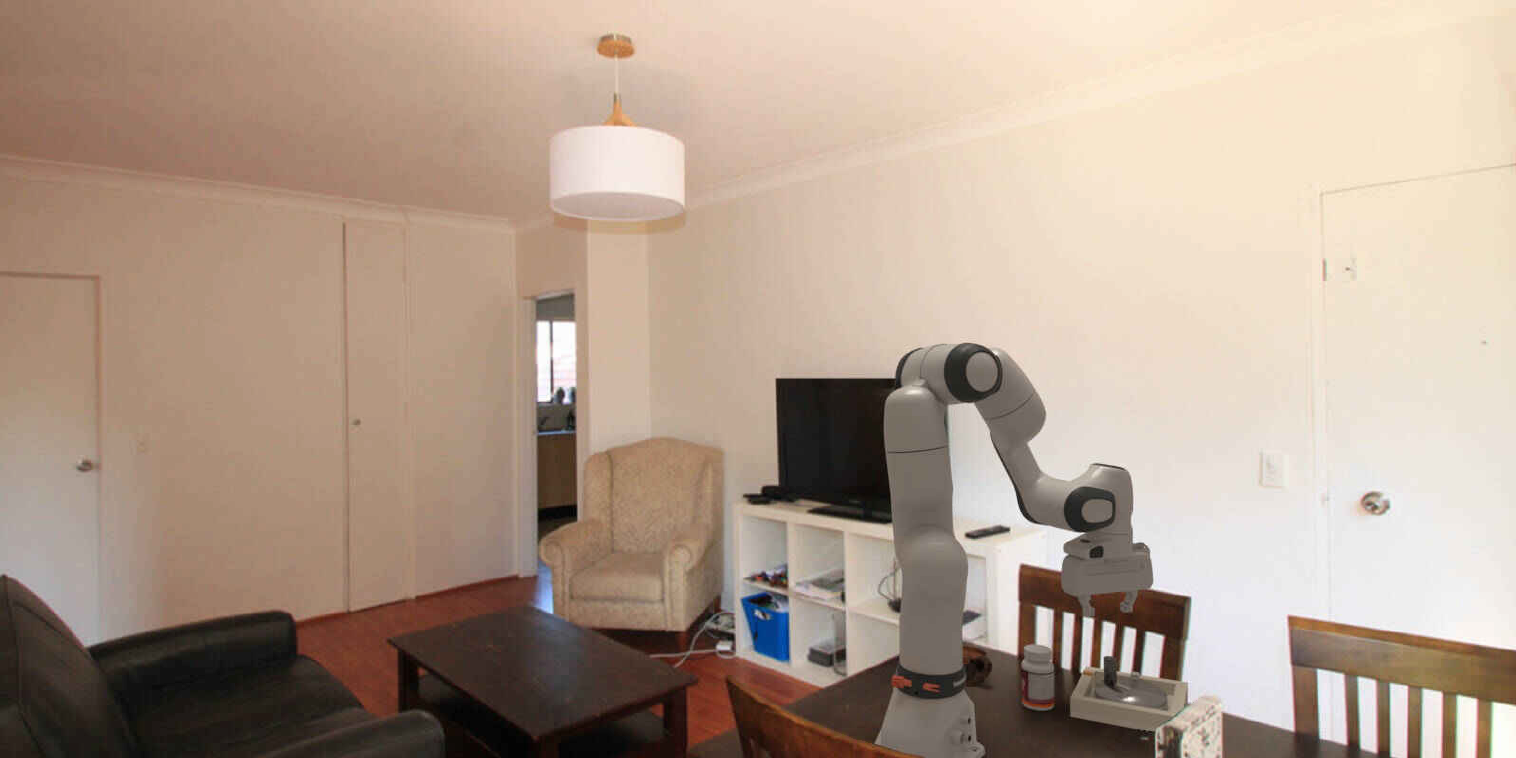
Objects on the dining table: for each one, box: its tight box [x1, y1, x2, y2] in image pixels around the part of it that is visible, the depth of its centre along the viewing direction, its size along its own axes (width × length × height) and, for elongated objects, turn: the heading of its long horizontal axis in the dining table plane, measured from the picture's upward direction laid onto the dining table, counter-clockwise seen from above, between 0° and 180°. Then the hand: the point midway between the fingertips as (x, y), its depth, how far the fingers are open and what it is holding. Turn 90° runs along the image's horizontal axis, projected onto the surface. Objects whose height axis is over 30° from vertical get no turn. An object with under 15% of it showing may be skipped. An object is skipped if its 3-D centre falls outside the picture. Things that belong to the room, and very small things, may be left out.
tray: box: [1069, 666, 1189, 733], centre depth 160 cm, size 19×19×4 cm
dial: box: [1094, 655, 1167, 711], centre depth 160 cm, size 13×13×7 cm
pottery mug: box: [962, 644, 993, 687], centre depth 176 cm, size 12×10×8 cm
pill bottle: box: [1020, 643, 1055, 712], centre depth 162 cm, size 6×6×11 cm
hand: (1107, 614), depth 164 cm, fingers open, 8 cm apart
